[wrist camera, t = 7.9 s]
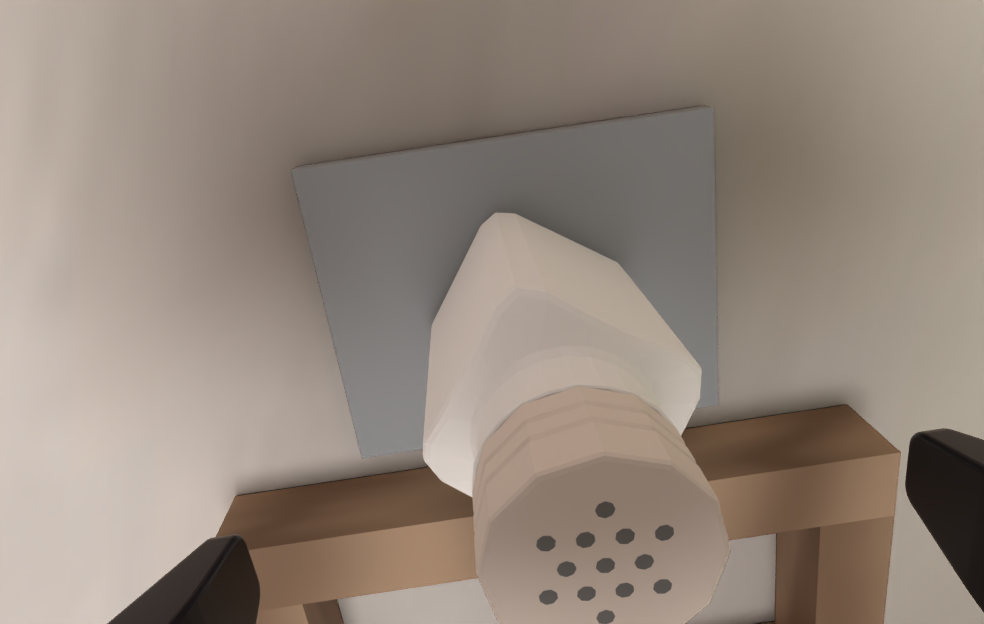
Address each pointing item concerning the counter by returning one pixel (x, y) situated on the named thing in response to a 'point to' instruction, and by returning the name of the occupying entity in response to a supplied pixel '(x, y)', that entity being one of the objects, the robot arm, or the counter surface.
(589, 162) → the rubber pad
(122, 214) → the counter surface
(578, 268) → the pepper shaker
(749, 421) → the wooden compartment tray
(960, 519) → the robot arm
